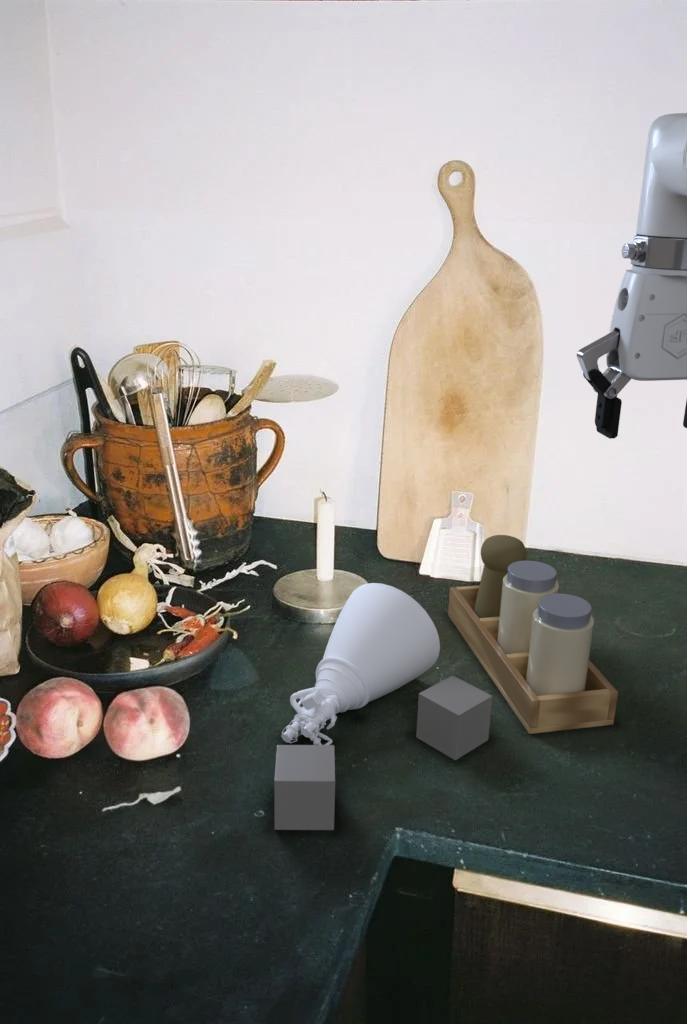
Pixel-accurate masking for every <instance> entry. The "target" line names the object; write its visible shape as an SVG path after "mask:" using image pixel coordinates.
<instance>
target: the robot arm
mask: <svg viewBox="0 0 687 1024" xmlns="http://www.w3.org/2000/svg"><path fill="white" fill-rule="evenodd" d="M642 172H643V173H642V181H641V189H640V197H639V205H638V213H637V223H636V230H635V235H633V241H632V242H631V243H624V244H623V245H622V248H621V257H622V258H623V259H630V264H631V269H625V272H624V273H623V277H622V280H621V283H620V286H619V288H618V292H617V295H616V300H615V303H614V307H613V310H612V316H611V321H610V325H609V326H610V327H609V331H608V332H609V333H607V334H605V335H604V336H602V337H600V338H597V339H596V340H594V341H593V342H591V343H589V344H587V345H585V346H583V347H581V348H580V349H579V350H578V351H577V352H576V358H577V360H578V363H579V366H580V368H581V371H582V376H583V378H584V379H585V380H586V381H587V382H588V384H589V385H590V387H592V390H593V391H594V392H595V393H596V394H597V397H596V405H595V413H594V414H595V415H594V425H595V426H596V427H595V428H596V432H597V433H599V434H600V435H602V436H604V437H606V438H607V439H610V440H611V439H616V438H617V437H618V436H619V428H620V421H621V420H620V419H621V412H622V411H621V410H622V404H623V403H622V402H623V401H622V399H621V398H620V397H618V395H619V393H620V392H621V391H622V390H623V389H624V388H625V387H626V386H627V384H628V383H629V382H631V380H634V381H639V382H654V381H655V382H656V381H683V380H684V381H686V380H687V112H679V113H667V114H664V115H661V116H658V117H657V118H655V119H654V120H653V122H652V123H651V125H650V127H649V130H648V133H647V140H646V148H645V156H644V164H643V171H642ZM605 355H606V356H605ZM602 356H605V358H606V366H607V368H606V370H604V371H603V372H601V370H600V369H599V364H598V363H599V362H598V360H599V359H600V358H602ZM682 421H683V422H682V426H683V427H684V428H685V429H687V399H686V401H685V408H684V413H683V420H682Z"/></svg>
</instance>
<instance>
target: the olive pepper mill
mask: <svg viewBox="0 0 687 1024" xmlns="http://www.w3.org/2000/svg"><path fill="white" fill-rule="evenodd" d="M480 547H481V548H480V558H481V561H482V563H483V569H482V572H481V577H480V583H479V585H480V586H479V590H478V595H477V599H476V603H475V608H474V612H475V614H476V615H477V616H478V618H479V619H480V618H489V617H499V616H500V605H501V594H502V584H503V578H504V576H505V575H507V570H508V566H509V565H510V564H512V563H514V562H517V561H526V558H527V549H526V546H525V544H524V543H523V541H522V540H521V539H519V538H517V537H515V536H512V535H508V534H495V535H492V536H488V537H487V538H485V540H484V541H483V542H482V544H481V546H480Z"/></svg>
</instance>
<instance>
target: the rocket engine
mask: <svg viewBox="0 0 687 1024" xmlns="http://www.w3.org/2000/svg"><path fill="white" fill-rule="evenodd" d="M440 650H441V643H440V637H439V633H438V630H437V627H436V625H435V623H434V622H433V620H432V618H431V617H430V615H429V613H427V611H426V610H425V608H423V607H422V605H421V604H420V603H419V602H418V601H416V600H415V599H414V598H413V597H412V596H411V595H409V594H407V593H406V592H404V591H403V590H401V589H399V588H397V587H395V586H392V585H389V584H385V583H381V582H379V583H378V582H369V583H365V584H362V585H359V586H358V587H356V588H355V589H354V590H353V591H352V592H351V594H350V595H349V597H348V598H347V600H346V601H345V603H344V605H343V607H342V609H341V611H340V612H339V615H338V617H337V619H336V620H335V624H334V627H333V628H332V631H331V634H330V636H329V639H328V641H327V645H326V647H325V650H324V653H323V657H322V659H321V660H320V661H319V662H318V664H317V665H316V669H315V684H314V686H313V687H309V688H306V689H301V690H298V691H297V692H293V693H292V694H291V695H290V697H289V703H290V705H291V707H292V708H293V709H294V710H295V712H296V714H295V715H294V717H293V719H291V721H290V723H289V724H288V725H287V726H285V727H284V728H283V730H282V731H281V735H280V737H281V739H282V741H284V742H285V743H286V744H288V743H289V745H292V743H296V742H298V737H299V736H302V735H303V736H304V737H305V738H309V740H310V741H311V742H312V743H313V744H312V745H332V744H333V739H332V738H331V737H329V736H328V735H326V734H324V733H323V732H320V731H321V730H322V729H325V726H326V725H327V723H326V722H327V721H328V720H330V722H329V724H328V725H327V726H326V731H327V730H330V729H332V728H333V727H335V724H336V721H337V719H338V716H337V714H338V713H345V712H347V711H348V710H349V711H351V710H359V709H362V708H364V707H365V706H367V705H368V703H369V702H370V703H371V702H372V701H375V700H377V699H380V698H381V697H384V696H386V695H388V694H390V693H392V692H394V691H395V690H398V689H400V688H402V687H403V686H405V685H407V684H408V683H410V682H412V681H414V680H415V679H417V678H418V677H420V676H421V675H423V674H424V673H426V672H427V671H428V670H429V669H431V668H432V667H433V666H434V665H435V664H436V663H437V660H438V658H439V657H440ZM297 699H298V700H299V701H298V702H297ZM301 705H302V706H301ZM285 730H286V731H285ZM322 740H325V741H327V742H326V743H324V744H322V743H321V741H322Z"/></svg>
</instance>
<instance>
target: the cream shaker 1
mask: <svg viewBox="0 0 687 1024" xmlns="http://www.w3.org/2000/svg"><path fill="white" fill-rule="evenodd" d="M559 591H560V584H559V582H558V580H557V569H555V568H554V567H553V566H551V565H550V564H547V563H545V562H542V561H536V560H524V561H517V562H514V563H512V564H510V565H509V566H508V570H507V575H505V576H504V578H503V584H502V594H501V605H500V616H499V626H498V637H497V643H498V644H499V646H500V647H501V648H502V650H503V651H504V653H505V654H515V653H526V652H529V647H530V638H531V629H532V620H533V612H534V611H535V609H537V608H538V602H539V600H540V598H542V597H543V596H545V595H549V594H557V593H558V594H559Z"/></svg>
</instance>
